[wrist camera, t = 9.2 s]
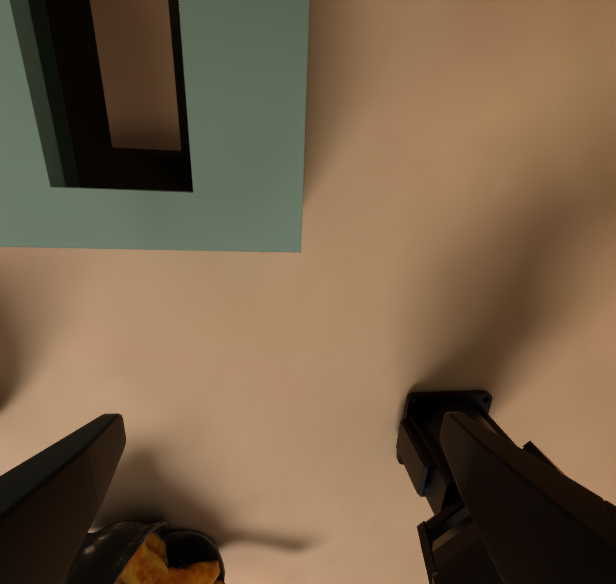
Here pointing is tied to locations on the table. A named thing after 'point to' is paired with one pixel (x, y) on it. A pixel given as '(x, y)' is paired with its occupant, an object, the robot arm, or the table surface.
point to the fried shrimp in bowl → (145, 556)
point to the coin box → (202, 138)
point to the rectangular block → (143, 75)
